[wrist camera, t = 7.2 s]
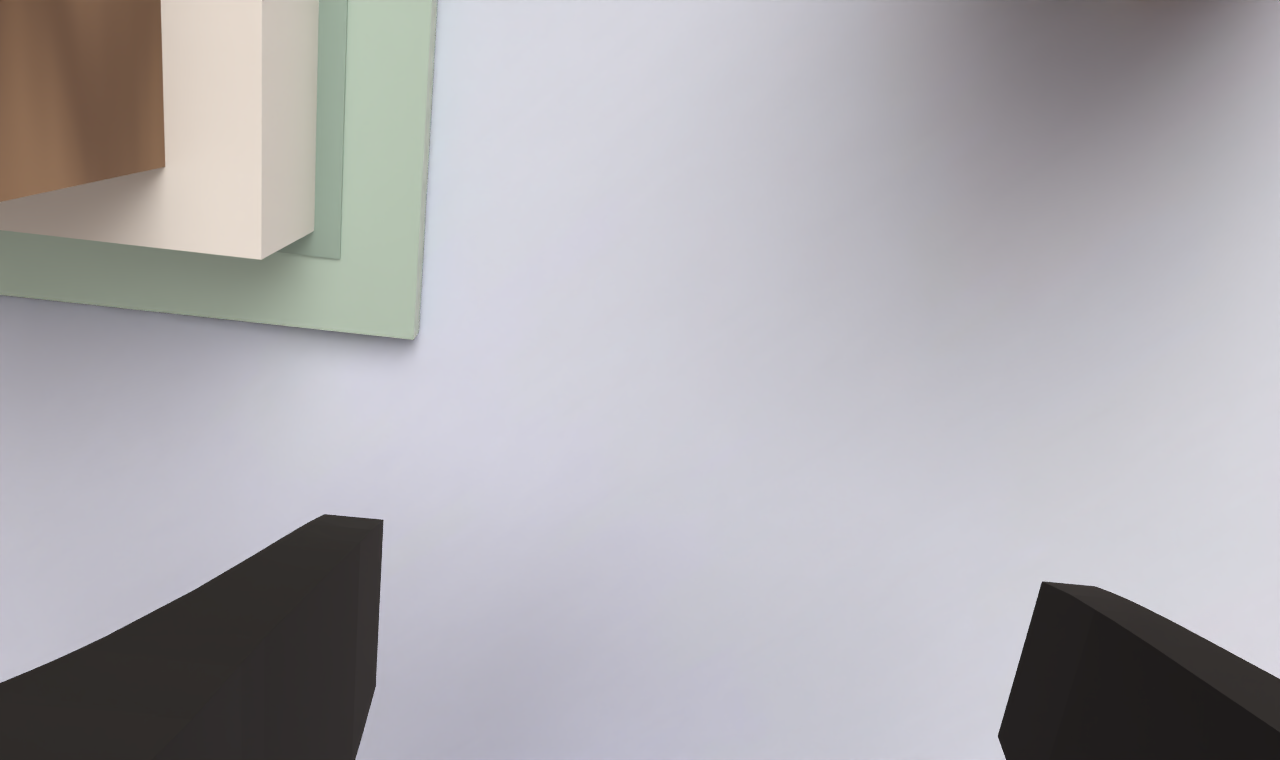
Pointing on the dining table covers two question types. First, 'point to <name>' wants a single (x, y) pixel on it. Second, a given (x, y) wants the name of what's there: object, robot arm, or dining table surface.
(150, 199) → the block
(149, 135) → the walnut cube
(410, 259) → the board
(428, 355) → the dining table surface
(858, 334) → the dining table surface
